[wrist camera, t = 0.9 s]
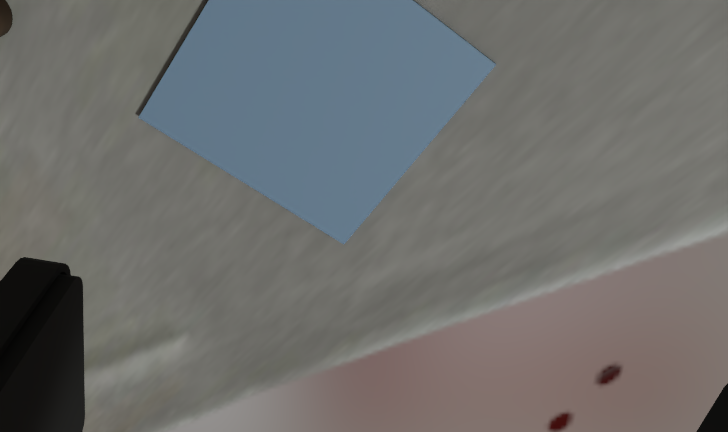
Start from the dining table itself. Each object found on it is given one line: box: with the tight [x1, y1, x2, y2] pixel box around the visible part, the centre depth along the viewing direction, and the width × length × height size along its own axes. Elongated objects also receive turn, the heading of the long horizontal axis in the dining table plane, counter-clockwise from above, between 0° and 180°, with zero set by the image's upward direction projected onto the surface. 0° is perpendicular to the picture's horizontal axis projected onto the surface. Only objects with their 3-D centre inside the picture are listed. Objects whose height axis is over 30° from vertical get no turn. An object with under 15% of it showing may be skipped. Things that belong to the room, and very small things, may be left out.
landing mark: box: [138, 0, 496, 244], centre depth 37 cm, size 14×14×1 cm
